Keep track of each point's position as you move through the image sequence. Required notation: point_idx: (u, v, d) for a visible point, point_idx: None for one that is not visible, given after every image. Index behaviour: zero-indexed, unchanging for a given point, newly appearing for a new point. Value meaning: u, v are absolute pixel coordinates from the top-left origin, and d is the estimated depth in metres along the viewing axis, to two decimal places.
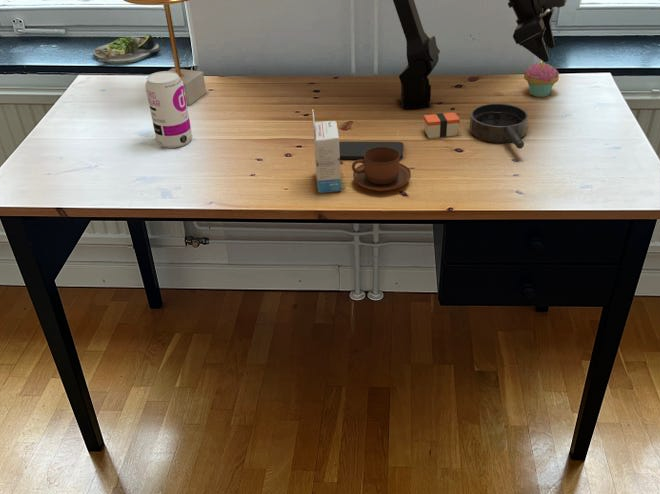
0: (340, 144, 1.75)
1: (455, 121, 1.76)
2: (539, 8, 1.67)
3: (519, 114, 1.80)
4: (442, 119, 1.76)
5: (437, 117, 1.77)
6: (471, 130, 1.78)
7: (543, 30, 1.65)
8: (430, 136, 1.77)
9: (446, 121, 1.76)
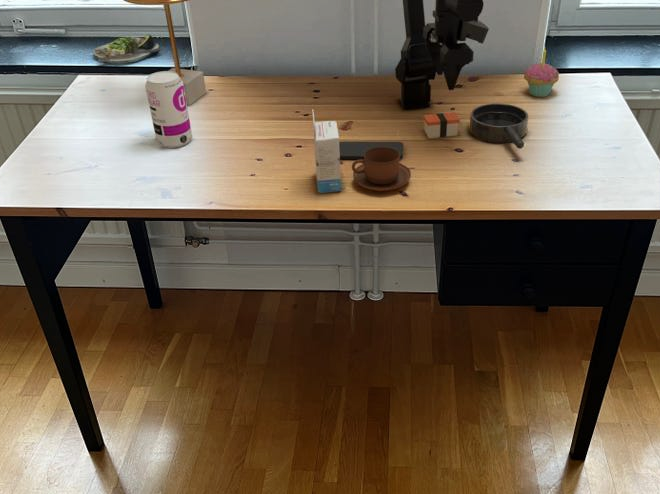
0: (340, 144, 1.75)
1: (455, 121, 1.76)
2: (464, 36, 1.63)
3: (519, 114, 1.80)
4: (442, 119, 1.76)
5: (437, 117, 1.77)
6: (471, 130, 1.78)
7: None
8: (430, 136, 1.77)
9: (446, 121, 1.76)
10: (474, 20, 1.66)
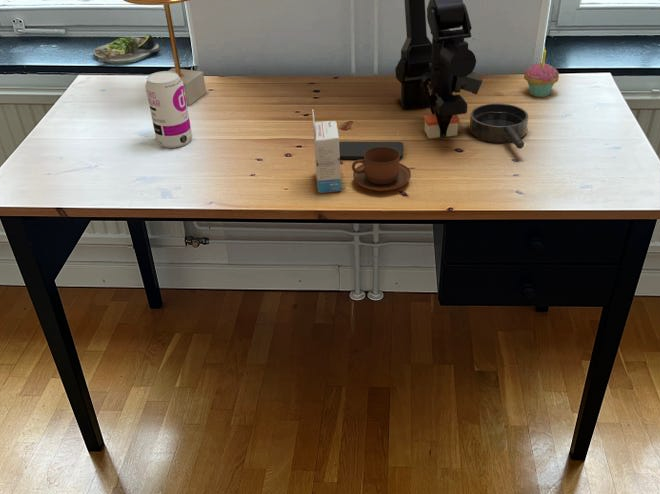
0: (340, 144, 1.75)
1: (455, 121, 1.76)
2: (459, 87, 1.70)
3: (519, 114, 1.80)
4: None
5: None
6: (471, 130, 1.78)
7: None
8: (430, 136, 1.77)
9: None
10: None
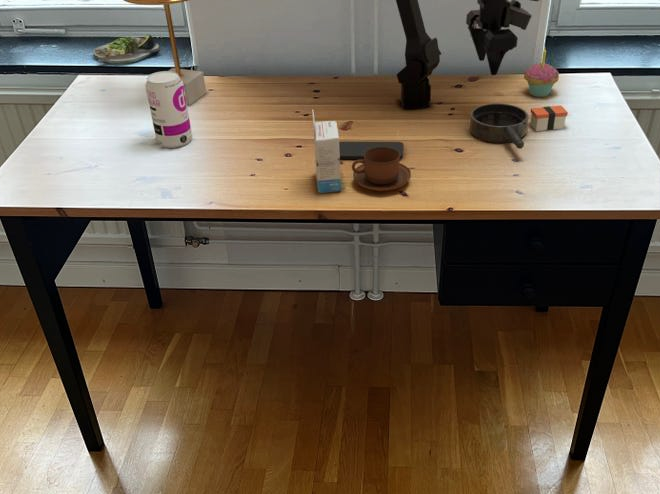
0: (340, 144, 1.75)
1: (563, 114, 1.77)
2: (508, 22, 1.69)
3: (519, 114, 1.80)
4: (550, 112, 1.77)
5: (545, 110, 1.78)
6: (471, 130, 1.78)
7: None
8: (537, 129, 1.79)
9: (555, 114, 1.77)
10: (517, 7, 1.72)
